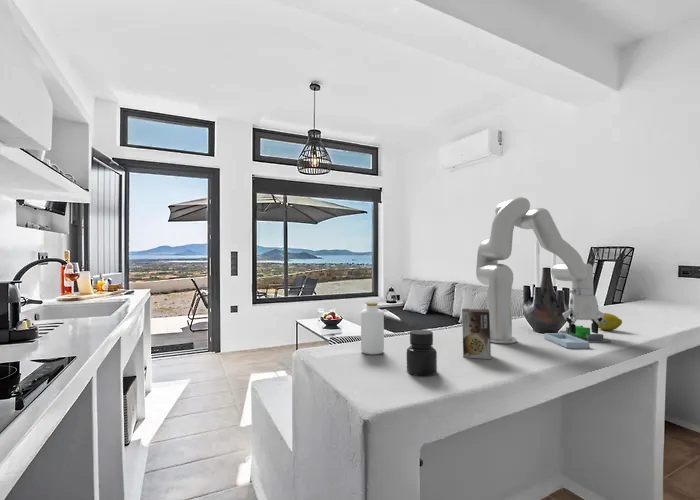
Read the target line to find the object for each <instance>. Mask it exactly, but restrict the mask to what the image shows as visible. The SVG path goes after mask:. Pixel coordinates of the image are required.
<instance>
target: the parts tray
mask: <svg viewBox="0 0 700 500" xmlns="http://www.w3.org/2000/svg"><path fill="white" fill-rule="evenodd" d="M543 335H544V336H543V337H544V338H543V339H544V340H547V341H548V342H551V343H553V344H556V345H558V346H559V347H563V348H565V349H590V347H591V346H590V343H589V342H587V341H584V340H582V339H579V338H576V337H573V336H571V335H568V334H565V333H561V332H559V333H557V332H556V333H553V332H552V333H550V332H548V333H547V332H546V333H544V334H543Z"/></svg>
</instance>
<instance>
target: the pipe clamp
mask: <svg viewBox="0 0 700 500" xmlns="http://www.w3.org/2000/svg"><path fill="white" fill-rule="evenodd" d="M569 333H570V331H569ZM571 334H573V333H571ZM586 334H591V328H590V327H584V326H583V325H576V333H575V334H574V335H577V336H579V337H582V338H585V339H586Z"/></svg>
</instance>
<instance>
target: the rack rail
mask: <svg viewBox="0 0 700 500" xmlns="http://www.w3.org/2000/svg"><path fill="white" fill-rule="evenodd" d="M559 333H565V334H568V335H571V336H573V337H576V338H579V339H582V340H584V341H587V342H589V344H590V343H595V344H596V343H597V344H599V343H601V344H602V343H603V344H604V343H609V342H611V343H612V340H611V339H610V340H609V339H607V338H604V334H602V333H598V334H596V333H590V334H586V339H585V338H582V337H579V336H577V335H574V334H571V333H569V326H567V327H565V330H559Z"/></svg>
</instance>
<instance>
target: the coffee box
mask: <svg viewBox="0 0 700 500" xmlns="http://www.w3.org/2000/svg"><path fill="white" fill-rule="evenodd" d="M461 319H462V320H461V322H462V357H463V358H466V359H467V358H468V359H483V360H491V359H492V355H491V354H492V349H491V342H490V312H489V309H487V308H462V310H461Z"/></svg>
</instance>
